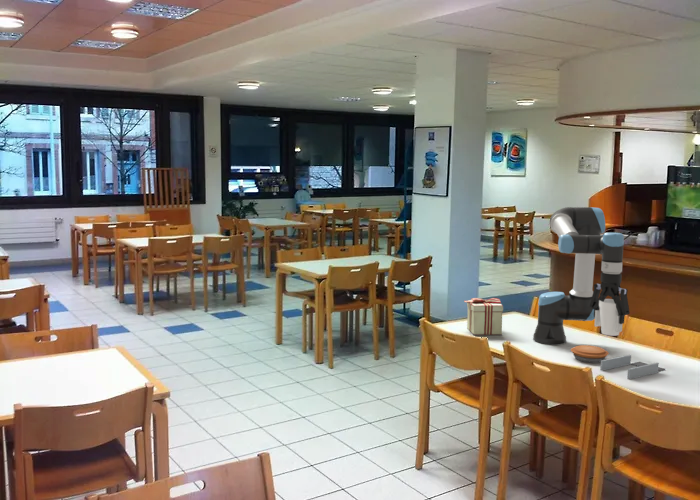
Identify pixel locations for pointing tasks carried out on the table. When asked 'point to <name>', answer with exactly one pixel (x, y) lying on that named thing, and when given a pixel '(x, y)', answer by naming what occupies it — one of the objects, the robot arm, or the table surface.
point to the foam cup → (608, 317)
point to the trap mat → (645, 364)
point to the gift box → (484, 316)
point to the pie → (589, 353)
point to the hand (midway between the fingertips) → (607, 328)
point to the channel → (632, 372)
